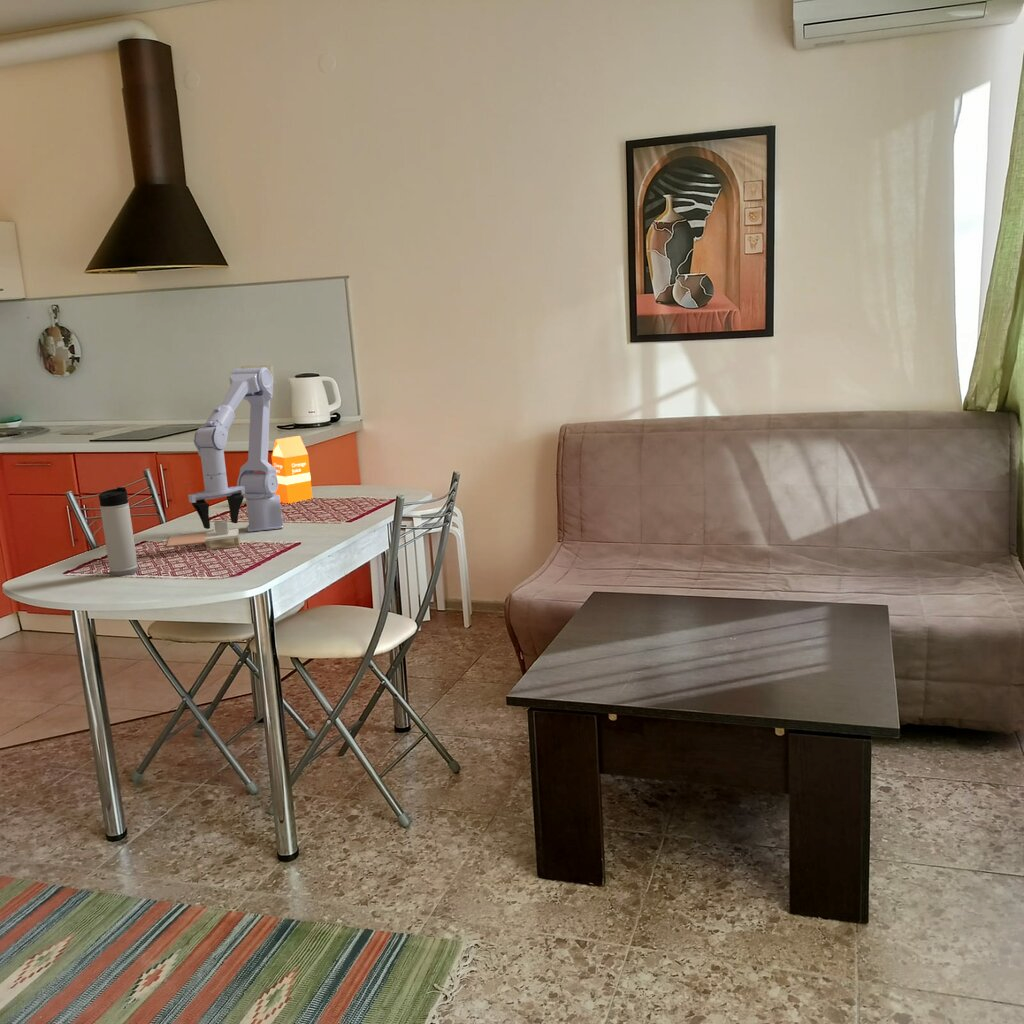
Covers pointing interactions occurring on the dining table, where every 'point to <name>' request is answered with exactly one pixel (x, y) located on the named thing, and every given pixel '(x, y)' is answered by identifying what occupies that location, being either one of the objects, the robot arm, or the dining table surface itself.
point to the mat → (186, 540)
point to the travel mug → (118, 532)
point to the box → (223, 543)
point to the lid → (221, 532)
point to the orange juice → (292, 470)
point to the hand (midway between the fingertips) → (220, 525)
